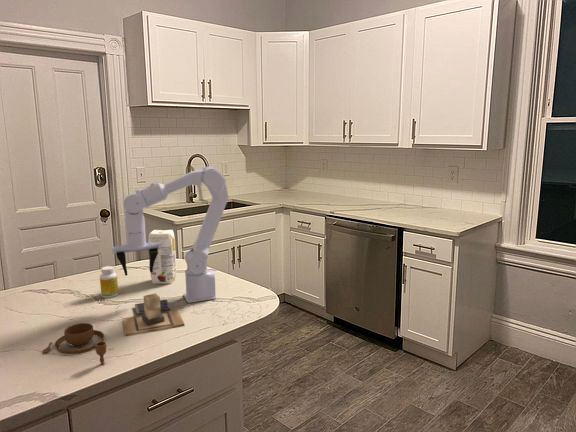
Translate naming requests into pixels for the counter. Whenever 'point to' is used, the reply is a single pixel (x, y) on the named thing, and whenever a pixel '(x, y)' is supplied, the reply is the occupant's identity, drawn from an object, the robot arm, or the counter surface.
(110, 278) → the supplement bottle
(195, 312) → the counter surface
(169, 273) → the juice carton
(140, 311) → the ink pad
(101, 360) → the place setting
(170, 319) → the marked board
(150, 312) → the stamp
